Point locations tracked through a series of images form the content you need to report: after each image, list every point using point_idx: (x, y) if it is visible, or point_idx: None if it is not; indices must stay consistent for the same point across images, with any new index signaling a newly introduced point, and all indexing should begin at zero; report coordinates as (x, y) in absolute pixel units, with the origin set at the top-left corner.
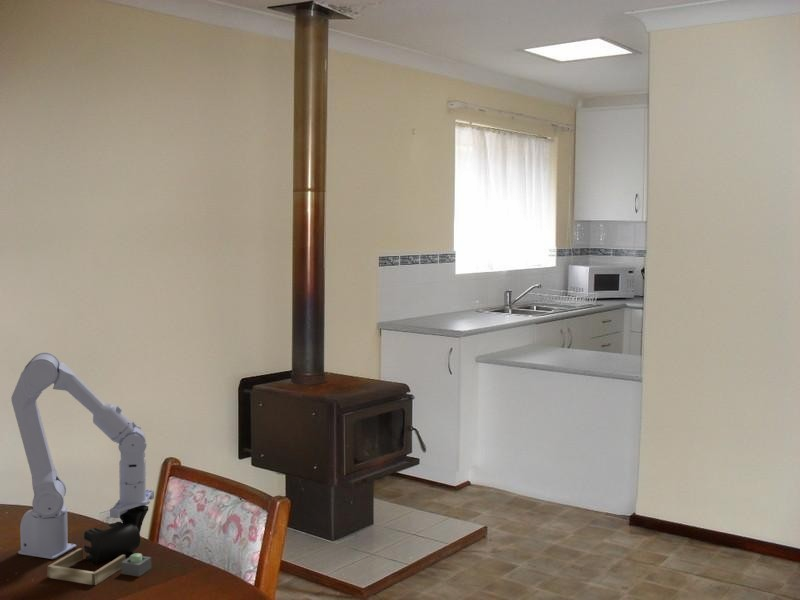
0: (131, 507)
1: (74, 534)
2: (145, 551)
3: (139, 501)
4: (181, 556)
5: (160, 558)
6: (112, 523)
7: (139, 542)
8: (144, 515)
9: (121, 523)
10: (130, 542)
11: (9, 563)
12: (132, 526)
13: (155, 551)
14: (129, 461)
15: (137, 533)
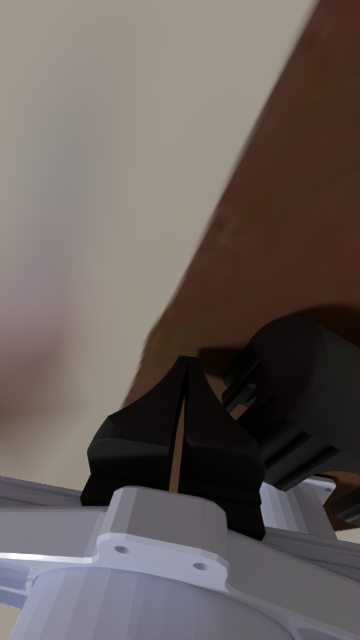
0: (336, 587)
1: (172, 483)
2: (246, 293)
3: (231, 622)
4: (287, 84)
5: (317, 193)
6: (284, 487)
7: (302, 316)
8: (145, 404)
9: (278, 459)
10: (355, 345)
11: (348, 526)
12: (341, 402)
13: (240, 256)
14: None
15: (336, 346)
